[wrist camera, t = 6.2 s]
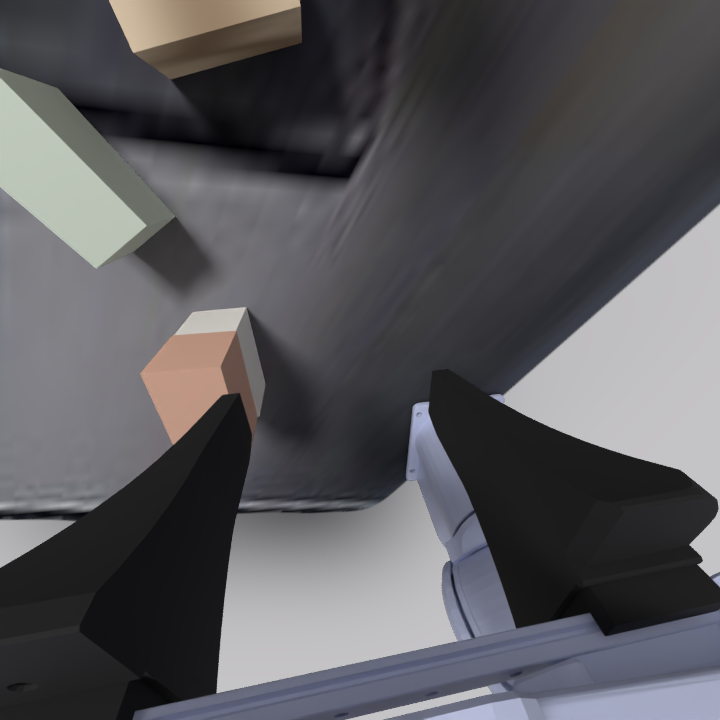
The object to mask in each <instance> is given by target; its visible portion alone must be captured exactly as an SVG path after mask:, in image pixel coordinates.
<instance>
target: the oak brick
mask: <svg viewBox="0 0 720 720" xmlns="http://www.w3.org/2000/svg"><path fill="white" fill-rule="evenodd" d="M109 1H110V4H111V6H112V8H113V10H114V12H115V14H116V17H117V19H118V21H119V23H120V25H121V27H122V29H123V32H124V34H125V36H126V38H127V40H128V42H129V45H130V47H131V49H132V51H133V53H134V54H136V55H137V56H139V57H140V58H141V59H143V60H144V61H146V62H147V63H148V64H150V65H151V66H153V67H154V68H155V69H157V70H158V71H160V72H161V73H163V74H164V75H165V76H167V77H168V78H170V79H174V78H178V77H181V76H185V75H188V74H192V73H196V72H199V71H203V70H206V69H210V68H214V67H217V66H221V65H224V64H228V63H231V62H235V61H239V60H242V59H246V58H249V57H253V56H256V55H260V54H264V53H267V52H271V51H274V50H278V49H281V48H285V47H289V46H292V45H296V44H299V43H302V29H301V5H300V0H109Z"/></svg>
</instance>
